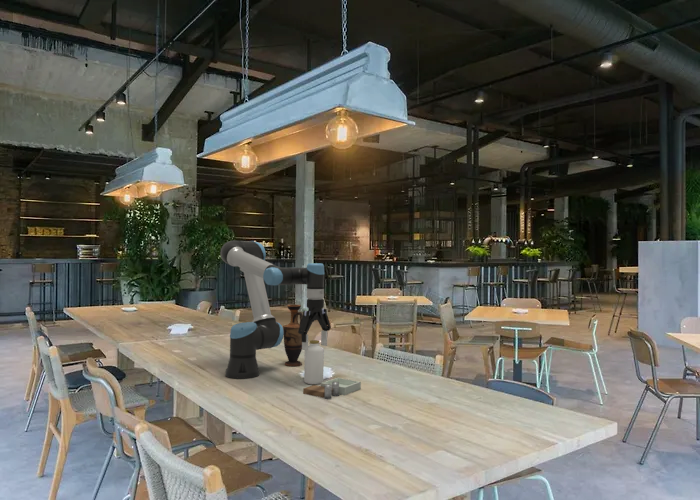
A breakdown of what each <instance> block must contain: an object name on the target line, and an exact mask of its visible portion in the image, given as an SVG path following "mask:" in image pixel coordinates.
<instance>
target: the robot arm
mask: <svg viewBox="0 0 700 500" xmlns="http://www.w3.org/2000/svg"><path fill="white" fill-rule="evenodd" d="M266 255H267V254H266V249H265V247H264V245H263V244H262V243H260V242H257V241H255V240H235V239H234V240H230V241H229V240H228V241H226V242H225V243H224V244H223V245H222V246H221V248H220V259H221V260H222V261H223V262H224V263H225V264H227V265H229V266H231V267H238V268H239V271H241V272H242V273H243V275H244V280H245V285H246V289H247V294H248V298H249V304H250V308H251V311H252V312H251V313H252V317H253V320H252V321H247V322H239V323H235V324H234V325H231V327H230V332H229V333H230V334H229V360H228V364H227V367H226V369H225V377H227V378H230V379H237V380H238V379H240V380H241V379H243V380H244V379H253V378H257V377H258V376H259V375H260V368H259V365H258V361H257V356H256V355H257V351H258V350H264V349H272V348H275V347H278V346H279V345H280V344H281V343H282V341H283V340H284V331H283V325H282V324H281V323H280V322H278V321H277V320H276V319H277V318H276V317H275V316H274V315H272V312H271V307H270V302H269V299H268V294H267V289H266V285H268V286H286V285H289V286H290V285H306V298H307V299H306V308H307V309H308V310H303V312H302V314H303V317H302V321H301V324H300V323H299V324H300V327H299V330H298V333H299V334H302V351H303V350H304V351H305V350H308V346H309V334H308V333H309V330H310V328H311V326H312V325H313V323H314V322H315V321H317V322H318V323H319V326H320V327H321V330H320V332H321V333H320V334H321V336H320V339H321V340H320V346H322V347H324V346H325V347H327V346H328V333H329V332H330V330H331V328H332V326H331V323H330V320H329V315H328V313H327V312H328V311H327V308H324V307H325V299H324V298H325V274H326V273H325V266H324V265H325V264H323V263H322V262H321V263H319V262H318V263H316V262H315V263H312V262H311V263H307V265H306V267H302V266H301V267H300V266H297V267H296V266H292V267H281V266H277V265H275V264H273V263H271V262H270V261H266ZM265 284H266V285H265ZM301 330H302V331H301Z"/></svg>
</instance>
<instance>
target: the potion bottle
mask: <svg viewBox="0 0 700 500" xmlns="http://www.w3.org/2000/svg"><path fill="white" fill-rule="evenodd" d="M323 347H324V346H322V345H320V340H316V339H315V340H314V339H312V340H309V342H308V350H304V361H303V362H304V363H303V364H304V366H303V368H304V370H303V371H304V372H303V380H304V383H305V384H308V385H321V383H322V382H324V363H325V362H324V361H325V360H324V359H325V356H324V355H325V354H324V352H325V348H323Z"/></svg>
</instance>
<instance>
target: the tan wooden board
mask: <svg viewBox="0 0 700 500" xmlns="http://www.w3.org/2000/svg"><path fill="white" fill-rule="evenodd" d="M302 392H303V393H302V394H304V395H309V396H314V397H317V396H318V398H322V399H325V398H324V387H323V386H321V385H318V384H311V385H310V386H307V387H303V389H302Z"/></svg>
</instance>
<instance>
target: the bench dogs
mask: <svg viewBox="0 0 700 500" xmlns="http://www.w3.org/2000/svg"><path fill="white" fill-rule="evenodd" d="M339 395H340V394H339V382H332V385H331V384H326V385H324V398H323V399H325V400H332V398H333V397H338V396H339Z"/></svg>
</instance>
